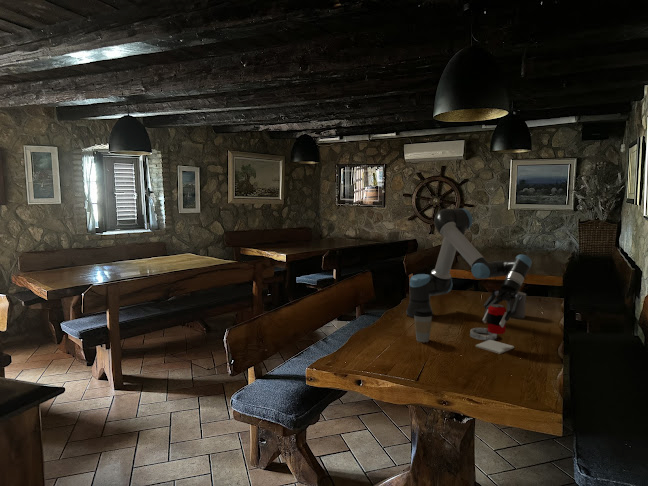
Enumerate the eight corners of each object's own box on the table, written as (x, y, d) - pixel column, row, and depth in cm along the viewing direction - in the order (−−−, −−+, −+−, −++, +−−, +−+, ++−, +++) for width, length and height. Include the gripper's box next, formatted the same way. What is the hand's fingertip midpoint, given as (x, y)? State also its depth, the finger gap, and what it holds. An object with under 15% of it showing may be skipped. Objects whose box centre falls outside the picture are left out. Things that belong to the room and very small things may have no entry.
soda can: (494, 334, 192) (495, 308, 190) (484, 329, 199) (484, 304, 198) (509, 333, 194) (509, 307, 192) (498, 328, 201) (498, 303, 200)
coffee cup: (433, 344, 202) (433, 313, 201) (412, 343, 204) (412, 312, 203) (432, 337, 212) (432, 308, 210) (412, 336, 213) (412, 307, 212)
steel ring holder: (465, 335, 214) (465, 331, 214) (479, 330, 222) (479, 326, 222) (487, 342, 205) (487, 337, 204) (501, 336, 212) (501, 332, 212)
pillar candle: (506, 317, 245) (507, 291, 243) (506, 313, 254) (507, 288, 252) (525, 319, 241) (526, 293, 240) (524, 315, 250) (525, 289, 249)
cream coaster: (475, 346, 199) (475, 345, 199) (489, 341, 206) (490, 339, 206) (499, 354, 189) (499, 352, 189) (514, 347, 197) (514, 346, 197)
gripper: (536, 291, 196) (517, 333, 188) (495, 285, 212) (475, 323, 204) (531, 281, 192) (511, 324, 184) (489, 275, 208) (469, 314, 200)
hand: (492, 323), depth 194 cm, fingers closed on soda can, 7 cm apart
